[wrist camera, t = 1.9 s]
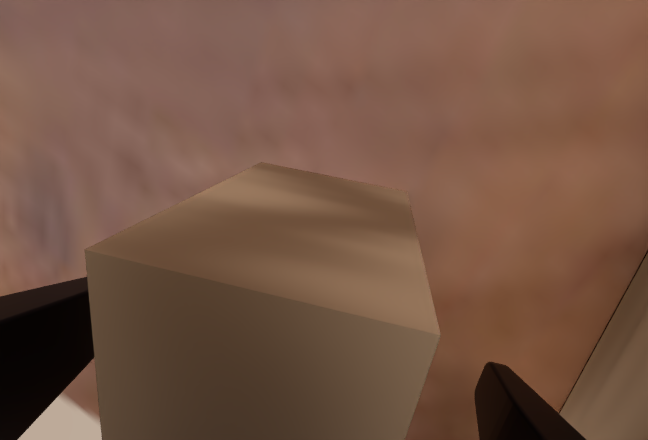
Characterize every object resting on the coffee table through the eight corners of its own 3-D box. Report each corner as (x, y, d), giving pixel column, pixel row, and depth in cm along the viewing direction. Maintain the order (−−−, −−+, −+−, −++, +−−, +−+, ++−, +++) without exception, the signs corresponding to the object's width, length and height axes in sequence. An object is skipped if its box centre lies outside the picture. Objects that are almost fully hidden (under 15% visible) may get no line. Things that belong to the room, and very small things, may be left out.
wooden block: (406, 190, 9) (440, 335, 3) (355, 390, 12) (327, 663, 6) (262, 161, 9) (84, 249, 4) (242, 360, 12) (115, 589, 6)
